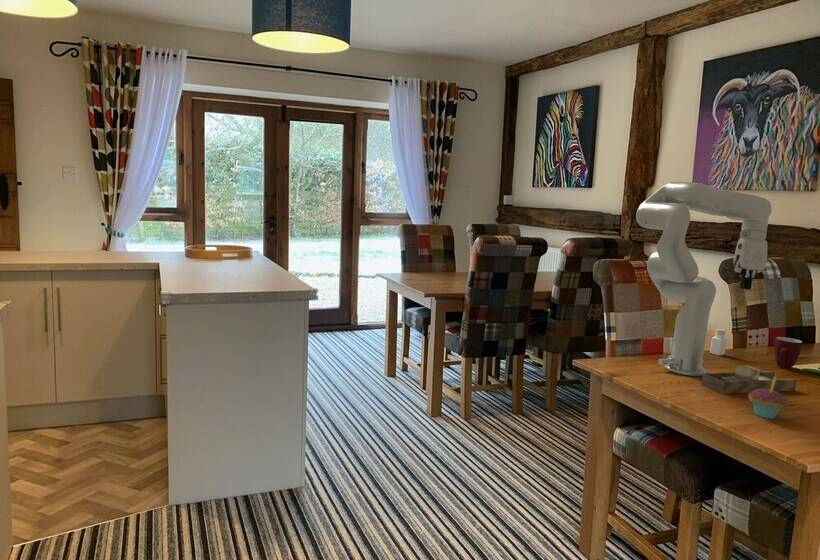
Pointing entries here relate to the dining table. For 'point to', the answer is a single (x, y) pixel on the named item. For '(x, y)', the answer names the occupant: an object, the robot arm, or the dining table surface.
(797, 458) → the dining table surface
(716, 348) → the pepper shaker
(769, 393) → the cupcake
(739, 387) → the tray
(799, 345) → the mug
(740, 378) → the birch block
